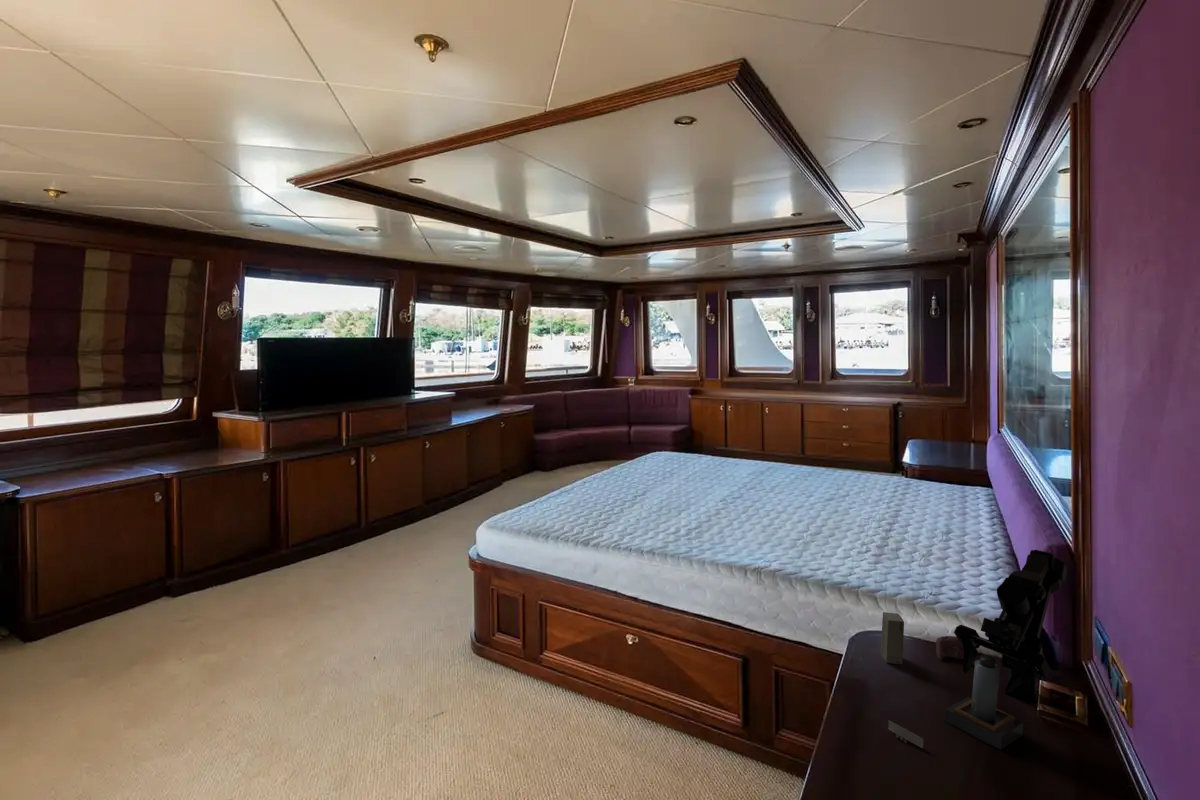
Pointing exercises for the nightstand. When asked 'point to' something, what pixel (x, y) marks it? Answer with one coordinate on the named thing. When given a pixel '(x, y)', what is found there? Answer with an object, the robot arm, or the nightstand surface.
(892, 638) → the skincare box
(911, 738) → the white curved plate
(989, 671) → the white capped bottle
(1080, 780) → the nightstand surface
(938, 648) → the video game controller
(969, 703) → the grey rectangular box
